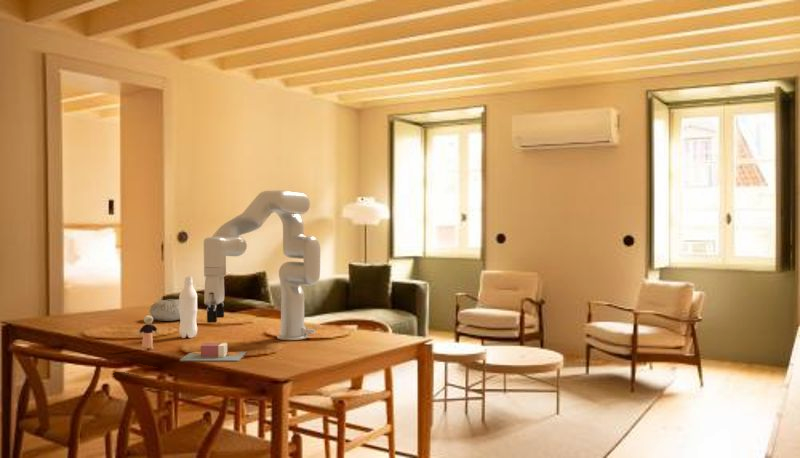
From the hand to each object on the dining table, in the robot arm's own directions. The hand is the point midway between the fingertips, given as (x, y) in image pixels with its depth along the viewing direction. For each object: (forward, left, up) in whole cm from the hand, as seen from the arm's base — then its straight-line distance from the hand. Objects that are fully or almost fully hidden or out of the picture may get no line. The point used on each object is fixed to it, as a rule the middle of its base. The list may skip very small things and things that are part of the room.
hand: (215, 319), depth 229 cm
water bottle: (+21, -37, -13) cm, 45 cm away
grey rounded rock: (+44, -82, -13) cm, 95 cm away
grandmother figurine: (+28, -12, -13) cm, 34 cm away
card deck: (0, 0, -13) cm, 13 cm away
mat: (0, +1, -13) cm, 13 cm away
